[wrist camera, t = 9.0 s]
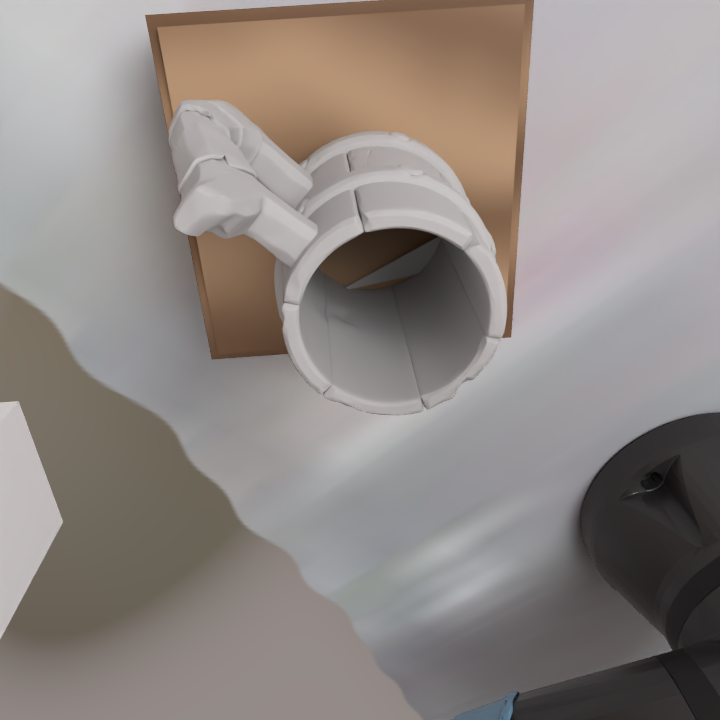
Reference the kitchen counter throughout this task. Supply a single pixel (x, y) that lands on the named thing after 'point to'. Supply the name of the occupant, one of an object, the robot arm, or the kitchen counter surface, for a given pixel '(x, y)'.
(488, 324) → the mug
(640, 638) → the kitchen counter surface
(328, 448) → the kitchen counter surface
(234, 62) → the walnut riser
